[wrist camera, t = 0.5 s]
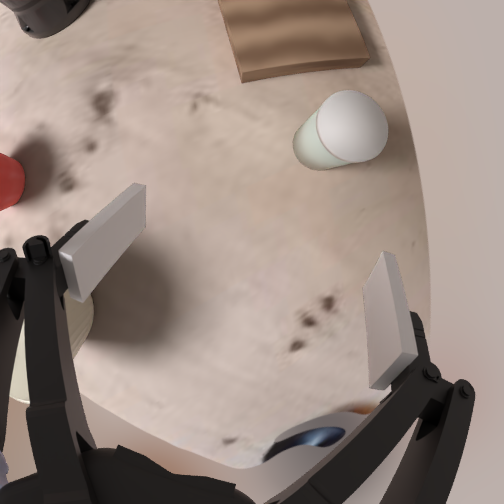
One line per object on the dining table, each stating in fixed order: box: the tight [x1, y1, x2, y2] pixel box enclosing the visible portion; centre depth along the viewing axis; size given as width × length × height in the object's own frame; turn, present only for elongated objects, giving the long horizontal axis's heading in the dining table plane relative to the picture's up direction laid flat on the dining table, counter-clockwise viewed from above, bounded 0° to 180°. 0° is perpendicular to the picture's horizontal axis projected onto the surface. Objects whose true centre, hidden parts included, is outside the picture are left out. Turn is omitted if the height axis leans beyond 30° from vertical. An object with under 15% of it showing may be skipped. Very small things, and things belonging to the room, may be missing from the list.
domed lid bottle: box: [293, 90, 388, 171], centre depth 33 cm, size 7×7×14 cm
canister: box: [9, 289, 94, 404], centre depth 32 cm, size 18×18×21 cm
